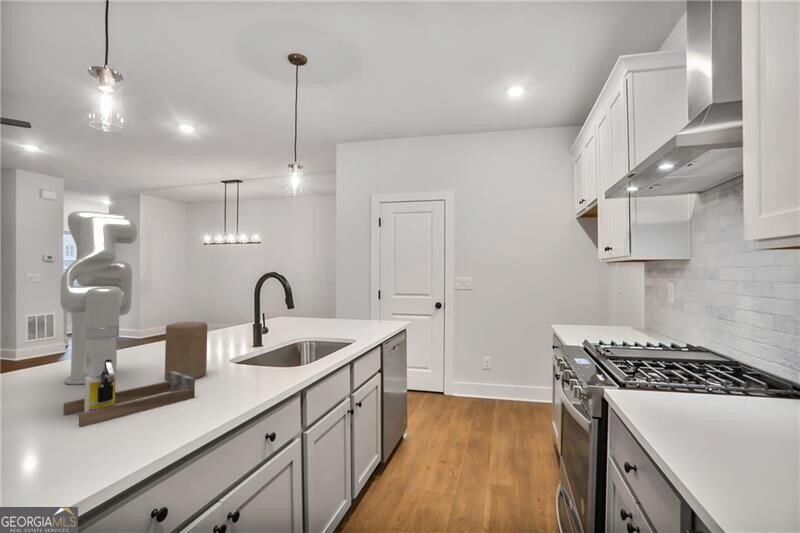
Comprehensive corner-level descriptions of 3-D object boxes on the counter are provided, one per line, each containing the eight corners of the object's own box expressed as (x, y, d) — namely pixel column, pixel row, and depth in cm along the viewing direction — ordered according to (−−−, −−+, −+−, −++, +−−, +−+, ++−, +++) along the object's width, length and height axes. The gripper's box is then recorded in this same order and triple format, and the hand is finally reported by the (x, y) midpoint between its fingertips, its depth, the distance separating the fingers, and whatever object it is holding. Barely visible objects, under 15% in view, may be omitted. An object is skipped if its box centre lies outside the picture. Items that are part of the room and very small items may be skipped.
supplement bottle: (120, 409, 106) (121, 363, 106) (92, 417, 100) (94, 368, 100) (106, 405, 108) (107, 360, 108) (78, 412, 102) (80, 365, 102)
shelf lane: (63, 414, 103) (63, 392, 103) (172, 389, 126) (173, 370, 126) (80, 427, 95) (81, 402, 95) (194, 397, 118) (194, 378, 118)
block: (187, 382, 133) (188, 325, 133) (163, 380, 135) (164, 324, 135) (207, 375, 143) (208, 322, 143) (184, 373, 145) (185, 321, 145)
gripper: (74, 331, 106) (72, 395, 106) (96, 338, 96) (94, 409, 96) (106, 328, 112) (104, 388, 112) (130, 334, 102) (129, 401, 102)
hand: (100, 397), depth 104 cm, fingers closed on supplement bottle, 6 cm apart
